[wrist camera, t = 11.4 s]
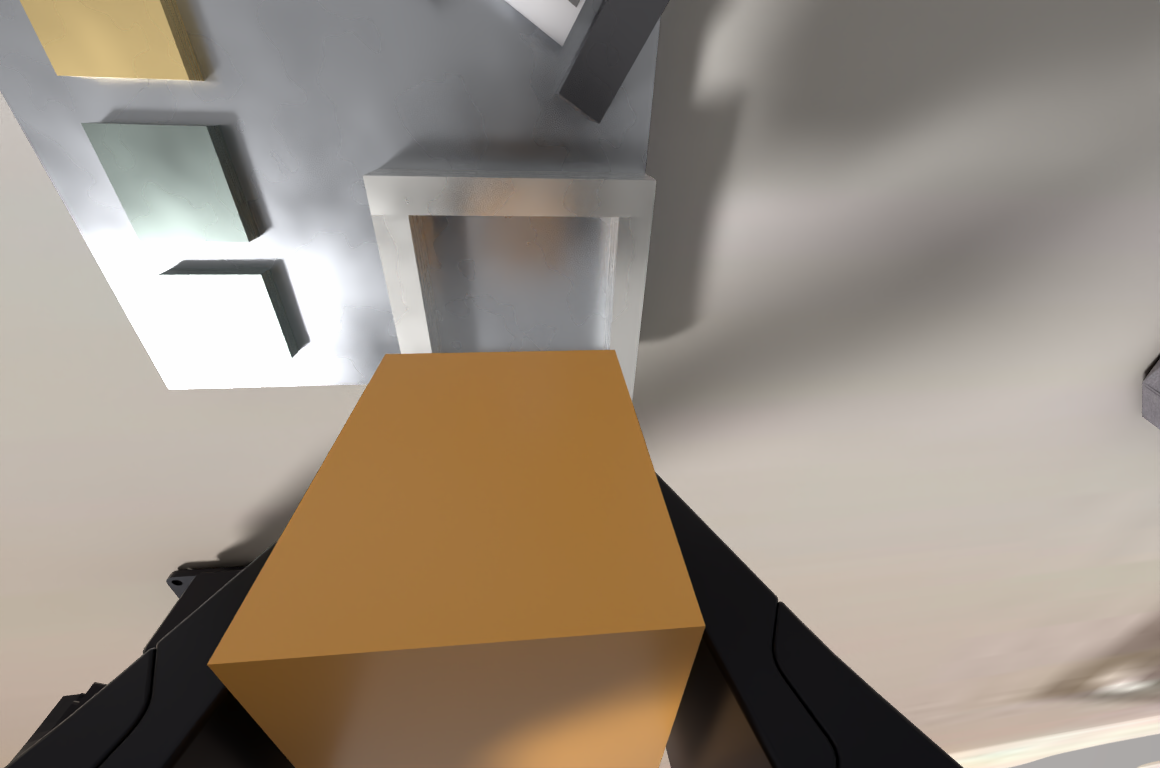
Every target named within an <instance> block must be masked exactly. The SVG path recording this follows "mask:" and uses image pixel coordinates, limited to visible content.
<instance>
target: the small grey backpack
mask: <svg viewBox="0 0 1160 768" xmlns="http://www.w3.org/2000/svg"><path fill="white" fill-rule="evenodd" d="M1142 417H1144V418H1145V419H1146V420H1148V421H1149V422H1151V423H1152V424H1153V425H1155V426H1156V427H1157V428H1159V429H1160V359H1159V360H1158V362H1157V363H1156V364H1155V366H1154V367H1153V368H1152V370H1151V371H1150V372H1149V374H1148V375H1147V377H1146V378H1145V379H1144V381H1143V387H1142Z"/></svg>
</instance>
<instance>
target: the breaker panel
mask: <svg viewBox="0 0 1160 768" xmlns="http://www.w3.org/2000/svg"><path fill="white" fill-rule="evenodd" d="M668 2H669V0H585V2H584V4H583V6H582V8H581V10H580V12H579V14H578V16H577V18H576V20H575V22H574V24H573V26H572V28H571V30H570V32H569V34H568V36H567V38H566V40H565V42H564V44H563V46H561V45H560V44H558V43H557V42H556V41H555V40H553V39H552V38H551V37H550V36H548V35H547V34H546V33H545V32H543V31H542V30H541V29H540V28H538V27H537V26H536V25H535V24H533V23H532V22H531V21H530V20H528V19H527V18H526V17H525V16H523V15H522V14H521V13H520V12H518V11H517V10H516V9H515V8H513V7H512V6H511V5H510V4H508V3H507V2H506V1H505V0H0V91H1V93H2V94H3V96H4V98H5V100H6V102H7V103H8V105H9V107H10V109H11V110H12V112H13V114H14V116H15V117H16V119H17V121H18V123H19V125H20V126H21V128H22V130H23V132H24V133H25V135H26V137H27V139H28V141H29V142H30V144H31V146H32V148H33V149H34V151H35V153H36V155H37V156H38V158H39V160H40V162H41V164H42V165H43V167H44V169H45V171H46V172H47V174H48V176H49V178H50V180H51V181H52V183H53V185H54V187H55V188H56V190H57V192H58V194H59V195H60V197H61V199H62V201H63V203H64V204H65V206H66V208H67V210H68V211H69V213H70V215H71V217H72V219H73V220H74V222H75V224H76V226H77V227H78V229H79V231H80V233H81V234H82V236H83V238H84V240H85V242H86V243H87V245H88V247H89V249H90V250H91V252H92V254H93V256H94V257H95V259H96V261H97V263H98V265H99V266H100V268H101V270H102V272H103V273H104V275H105V277H106V279H107V281H108V282H109V284H110V286H111V288H112V289H113V291H114V293H115V295H116V296H117V298H118V300H119V302H120V304H121V305H122V307H123V309H124V311H125V312H126V314H127V316H128V318H129V320H130V321H131V323H132V325H133V327H134V328H135V330H136V332H137V334H138V335H139V337H140V339H141V341H142V343H143V344H144V346H145V348H146V350H147V351H148V353H149V355H150V357H151V359H152V360H153V362H154V364H155V366H156V367H157V369H158V371H159V373H160V374H161V376H162V378H163V380H164V382H165V383H166V385H167V387H168V389H199V388H238V387H278V386H318V385H358V384H368V383H369V382H370V380H371V378H372V377H373V375H374V373H375V371H376V370H377V368H378V366H379V364H380V363H381V361H382V359H383V357H384V356H385V354H415V353H468V352H521V351H574V350H615V352H616V355H617V358H618V361H619V364H620V367H621V370H622V373H623V376H624V379H625V382H626V385H627V388H628V391H629V394H630V397H631V400H632V399H633V390H634V381H635V372H636V363H637V354H638V345H639V336H640V327H641V318H642V309H643V300H644V291H645V282H646V273H647V264H648V255H649V246H650V237H651V228H652V219H653V210H654V201H655V192H656V183H657V180H655V179H654V178H652V177H651V176H649V175H648V174H646V173H645V172H646V161H647V151H648V141H649V131H650V120H651V110H652V100H653V90H654V79H655V69H656V59H657V49H658V38H659V28H660V18H661V14H662V13H663V11H664V9H665V7H666V5H667V4H668Z"/></svg>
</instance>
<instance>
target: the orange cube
mask: <svg viewBox="0 0 1160 768" xmlns="http://www.w3.org/2000/svg"><path fill="white" fill-rule="evenodd" d="M704 629H705V623H704V620H703V617H702V614H701V611H700V608H699V605H698V602H697V599H696V596H695V593H694V590H693V587H692V583H691V580H690V577H689V574H688V571H687V568H686V565H685V562H684V559H683V556H682V553H681V550H680V547H679V544H678V541H677V538H676V535H675V532H674V529H673V526H672V522H671V519H670V516H669V513H668V510H667V507H666V504H665V501H664V498H663V495H662V492H661V489H660V486H659V483H658V480H657V477H656V474H655V471H654V468H653V465H652V461H651V458H650V455H649V452H648V449H647V446H646V443H645V440H644V437H643V434H642V431H641V428H640V425H639V422H638V419H637V416H636V413H635V410H634V407H633V404H632V400H631V397H630V394H629V391H628V388H627V385H626V382H625V379H624V376H623V373H622V370H621V367H620V364H619V361H618V358H617V355H616V352H615V350H574V351H521V352H468V353H415V354H385V356H384V357H383V359H382V361H381V363H380V364H379V366H378V368H377V370H376V371H375V373H374V375H373V377H372V378H371V380H370V382H369V383H368V385H367V387H366V389H365V390H364V392H363V394H362V396H361V397H360V399H359V401H358V403H357V404H356V406H355V408H354V410H353V411H352V413H351V415H350V417H349V418H348V420H347V422H346V424H345V425H344V427H343V429H342V430H341V432H340V434H339V436H338V437H337V439H336V441H335V443H334V444H333V446H332V448H331V450H330V451H329V453H328V455H327V457H326V458H325V460H324V462H323V464H322V465H321V467H320V469H319V471H318V472H317V474H316V476H315V477H314V479H313V481H312V483H311V484H310V486H309V488H308V490H307V491H306V493H305V495H304V497H303V498H302V500H301V502H300V504H299V505H298V507H297V509H296V511H295V512H294V514H293V516H292V518H291V519H290V521H289V523H288V524H287V526H286V528H285V530H284V531H283V533H282V535H281V537H280V538H279V540H278V542H277V544H276V545H275V547H274V549H273V551H272V552H271V554H270V556H269V558H268V559H267V561H266V563H265V565H264V566H263V568H262V570H261V571H260V573H259V575H258V577H257V578H256V580H255V582H254V584H253V585H252V587H251V589H250V591H249V592H248V594H247V596H246V598H245V599H244V601H243V603H242V605H241V606H240V608H239V610H238V612H237V613H236V615H235V617H234V618H233V620H232V622H231V624H230V625H229V627H228V629H227V631H226V632H225V634H224V636H223V638H222V639H221V641H220V643H219V645H218V646H217V648H216V650H215V652H214V653H213V655H212V657H211V658H210V660H209V662H208V664H207V665H208V666H209V668H210V669H211V670H212V671H213V672H214V673H215V675H216V676H217V677H218V678H219V679H220V680H221V682H222V683H223V684H224V685H225V686H226V687H227V689H228V690H229V691H230V692H231V693H232V694H233V696H234V697H235V698H236V699H237V700H238V701H239V703H240V704H241V705H242V706H243V707H244V708H245V710H246V711H247V712H248V713H249V714H250V716H251V717H252V718H253V719H254V720H255V721H256V723H257V724H258V725H259V726H260V727H261V728H262V730H263V731H264V732H265V733H266V734H267V735H268V737H269V738H270V739H271V740H272V741H273V742H274V744H275V745H276V746H277V747H278V748H279V749H280V751H281V752H282V753H283V754H284V755H285V756H286V758H287V759H288V760H289V761H290V762H291V763H292V765H293V766H294V767H295V768H659V765H660V762H661V759H662V756H663V753H664V750H665V747H666V744H667V741H668V738H669V735H670V732H671V729H672V726H673V723H674V720H675V717H676V714H677V711H678V708H679V705H680V702H681V699H682V696H683V693H684V690H685V687H686V683H687V680H688V677H689V674H690V671H691V668H692V665H693V662H694V659H695V656H696V653H697V650H698V647H699V644H700V641H701V638H702V635H703V632H704Z"/></svg>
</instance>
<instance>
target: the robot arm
mask: <svg viewBox="0 0 1160 768" xmlns="http://www.w3.org/2000/svg"><path fill="white" fill-rule="evenodd" d="M655 474H656V477H657V480H658V483H659V486H660V489H661V492H662V495H663V498H664V501H665V504H666V507H667V510H668V513H669V516H670V519H671V522H672V526H673V529H674V532H675V535H676V538H677V541H678V544H679V547H680V550H681V553H682V556H683V559H684V562H685V565H686V568H687V571H688V574H689V577H690V580H691V583H692V587H693V590H694V593H695V596H696V599H697V602H698V605H699V608H700V611H701V614H702V617H703V620H704V623H705V629H704V632H703V635H702V638H701V641H700V644H699V647H698V650H697V653H696V656H695V659H694V662H693V665H692V668H691V671H690V674H689V677H688V680H687V683H686V687H685V690H684V693H683V696H682V699H681V702H680V705H679V708H678V711H677V714H676V717H675V720H674V723H673V726H672V729H671V732H670V735H669V738H668V741H667V744H666V750H667V754H668V758H669V762H670V766H671V768H963V767H962V766H961V765H960V764H958V763H957V762H956V761H955V760H954V759H953V758H952V757H950V756H949V755H948V754H947V753H946V752H945V751H944V750H942V749H941V748H940V747H939V746H938V745H937V744H936V743H934V742H933V741H932V740H931V739H930V738H929V737H928V736H926V735H925V734H924V733H923V732H922V731H921V730H920V729H918V728H917V727H916V726H915V725H914V724H913V723H912V722H910V721H909V720H908V719H907V718H906V717H905V716H904V715H902V714H901V713H900V712H899V711H898V710H897V709H896V708H894V707H893V706H892V705H891V704H890V703H889V702H888V701H886V700H885V699H884V698H883V697H882V696H881V695H880V694H878V693H877V692H876V691H875V690H874V689H873V688H872V687H871V686H869V685H868V684H867V683H866V682H865V681H864V680H863V679H862V678H861V677H859V676H858V675H857V674H856V673H855V672H854V671H853V670H852V669H851V668H850V667H848V666H847V665H846V664H845V663H844V662H843V661H842V660H841V659H840V658H839V657H837V656H836V655H835V654H834V653H833V652H832V651H831V650H830V649H829V648H828V647H827V646H826V645H825V644H824V643H823V642H822V641H821V640H820V639H819V638H818V637H817V636H816V635H815V634H814V633H813V632H812V631H811V630H810V629H809V628H808V627H807V626H806V625H805V624H804V623H803V622H802V621H801V620H800V619H799V618H798V617H797V616H796V615H795V614H794V613H793V612H792V611H791V610H790V609H789V608H788V607H787V606H786V605H785V604H784V603H783V602H778V597H777V596H776V595H775V594H774V593H773V592H772V591H771V590H770V589H769V588H768V587H767V586H766V585H765V584H764V583H763V582H762V581H761V580H760V579H759V578H758V577H757V576H756V575H755V574H754V573H753V572H752V571H751V570H750V569H749V568H748V567H747V565H746V564H745V563H744V562H743V561H742V560H741V559H740V558H739V557H738V556H737V555H736V554H735V553H734V552H733V551H732V550H731V549H730V548H729V547H728V546H727V545H726V544H725V543H724V542H723V541H722V540H721V539H720V538H719V537H718V536H717V535H716V534H715V533H714V532H713V531H712V530H711V529H710V528H709V527H708V526H707V525H706V524H705V523H704V521H703V520H702V519H701V518H700V517H699V516H698V515H697V514H696V513H695V512H694V511H693V510H692V509H691V508H690V507H689V506H688V505H687V504H686V503H685V502H684V501H683V500H682V499H681V498H680V497H679V496H678V495H677V494H676V493H675V492H674V491H673V490H672V489H671V488H670V487H669V486H668V485H667V484H666V483H665V482H664V481H663V480H662V479H661V477H660V476H659V475H658V474H657V473H656V472H655ZM278 540H279V539H278ZM278 540H277V541H276V542H275V543H274V544H272V545H271V546H270V547H269V548H268V549H267V550H265V551H264V552H263V553H262V554H261V555H260V556H258V557H257V558H256V559H255V560H254V561H253V562H251V563H250V564H249V565H248V566H245V567H228V568H212V569H195V570H178V571H174V572H172V573H171V575H170V576H169V577H168V579H167V581H166V582H167V584H168V585H169V586H170V588H171V589H172V590H173V591H174V593H175V594H176V595H177V596H178V598H179V600H178V601H177V603H176V604H175V605H174V607H173V608H172V610H171V611H170V613H169V614H168V615H167V617H166V618H165V620H164V621H163V622H162V624H161V625H160V627H159V628H158V629H157V631H156V632H155V634H154V635H153V637H152V638H151V639H150V641H149V642H148V644H147V645H146V646H145V648H144V650H143V655H142V656H141V657H140V658H138V659H137V660H136V661H135V662H134V663H133V664H131V665H130V666H129V667H128V668H127V669H126V670H124V671H123V672H122V673H121V674H120V675H119V676H117V677H116V678H115V679H114V680H113V681H111V682H110V683H109V684H108V685H107V684H102V683H97V682H94V684H93V685H92V686H91V688H90V689H89V690H88V691H87V693H86V694H84V693H81V694H77V695H69V696H63V697H62V699H61V700H60V701H59V702H58V704H57V705H56V706H55V707H54V709H53V710H52V711H51V713H50V714H49V715H48V716H47V718H46V719H45V720H44V721H43V723H42V724H41V725H40V727H39V728H38V729H37V730H36V732H35V733H34V734H33V735H32V737H31V738H30V739H29V740H28V742H27V743H26V744H25V745H24V746H23V748H22V749H21V750H20V751H19V752H18V754H17V755H16V756H15V757H14V758H13V760H12V761H11V762H10V763H9V764H8V765H7V766H6V767H4V768H295V767H294V766H293V765H292V763H291V762H290V761H289V760H288V759H287V758H286V756H285V755H284V754H283V753H282V752H281V751H280V749H279V748H278V747H277V746H276V745H275V744H274V742H273V741H272V740H271V739H270V738H269V737H268V735H267V734H266V733H265V732H264V731H263V730H262V728H261V727H260V726H259V725H258V724H257V723H256V721H255V720H254V719H253V718H252V717H251V716H250V714H249V713H248V712H247V711H246V710H245V708H244V707H243V706H242V705H241V704H240V703H239V701H238V700H237V699H236V698H235V697H234V696H233V694H232V693H231V692H230V691H229V690H228V689H227V687H226V686H225V685H224V684H223V683H222V682H221V680H220V679H219V678H218V677H217V676H216V675H215V673H214V672H213V671H212V670H211V669H210V668H209V666H208V665H207V664H208V662H209V660H210V658H211V657H212V655H213V653H214V652H215V650H216V648H217V646H218V645H219V643H220V641H221V639H222V638H223V636H224V634H225V632H226V631H227V629H228V627H229V625H230V624H231V622H232V620H233V618H234V617H235V615H236V613H237V612H238V610H239V608H240V606H241V605H242V603H243V601H244V599H245V598H246V596H247V594H248V592H249V591H250V589H251V587H252V585H253V584H254V582H255V580H256V578H257V577H258V575H259V573H260V571H261V570H262V568H263V566H264V565H265V563H266V561H267V559H268V558H269V556H270V554H271V552H272V551H273V549H274V547H275V545H276V544H277V542H278Z"/></svg>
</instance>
